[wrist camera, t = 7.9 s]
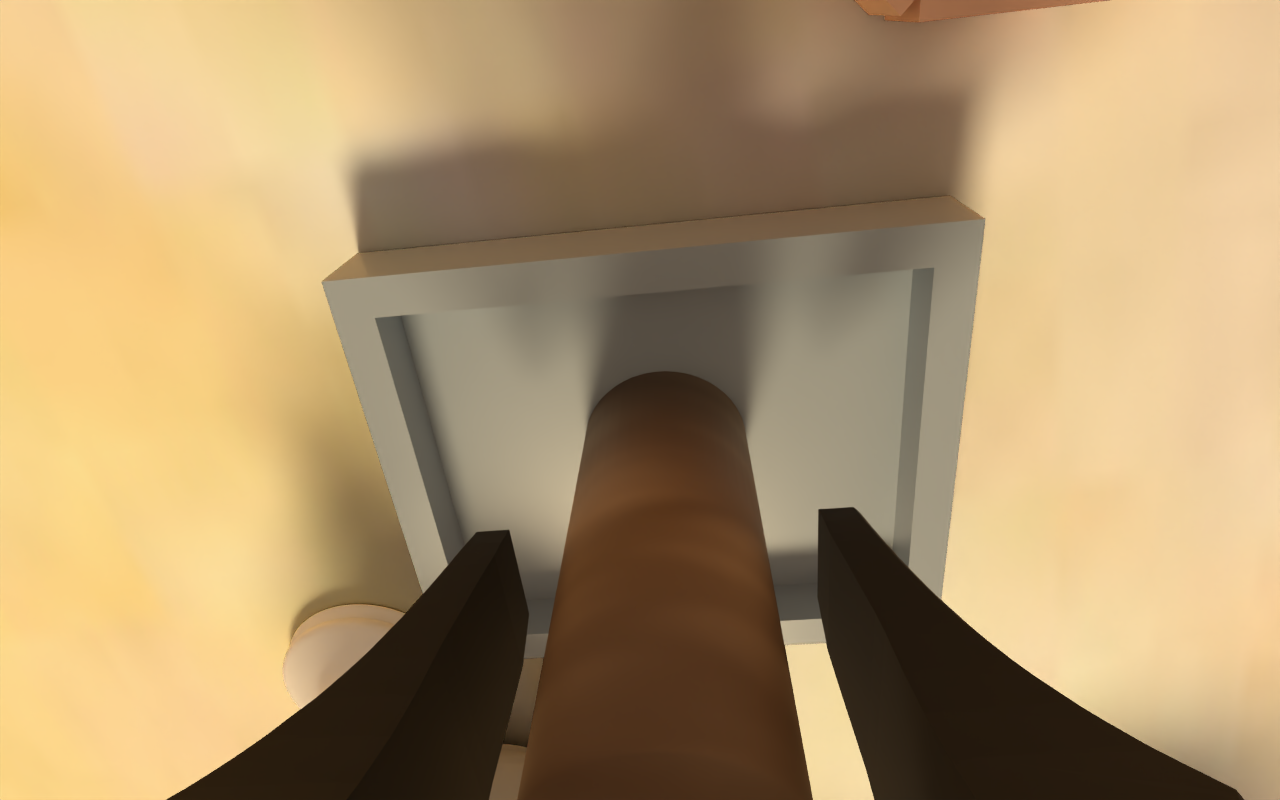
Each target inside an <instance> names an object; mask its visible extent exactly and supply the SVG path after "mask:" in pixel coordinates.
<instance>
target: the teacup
mask: <svg viewBox="0 0 1280 800" xmlns="http://www.w3.org/2000/svg"><path fill="white" fill-rule="evenodd" d="M526 750H527V747H524V746H518V745H512V744H503V745H502V749H501V753H500V756H499V760H498V764H497V768H496V772H495V776H494V779H493V783H492V788H491V793H490V797H489V800H517V798H518V793H519V787H520V782H521V777H522V771H523V766H524V761H525V755H526Z"/></svg>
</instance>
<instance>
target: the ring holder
mask: <svg viewBox="0 0 1280 800" xmlns="http://www.w3.org/2000/svg"><path fill="white" fill-rule="evenodd" d="M855 1H856V2H857V3H858V4H859V5H860V6H861V7H862V9H863V10H864V11H865V12H866V13H867V14H868V15H885V20H887V21H905V22H926V21H935V20H944V19H952V18H961V17H969V16H978V15H987V14H995V13H1004V12H1013V11H1021V10H1030V9H1039V8H1047V7H1056V6H1065V5H1073V4H1082V3H1091V2H1099V1H1108V0H855Z"/></svg>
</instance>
